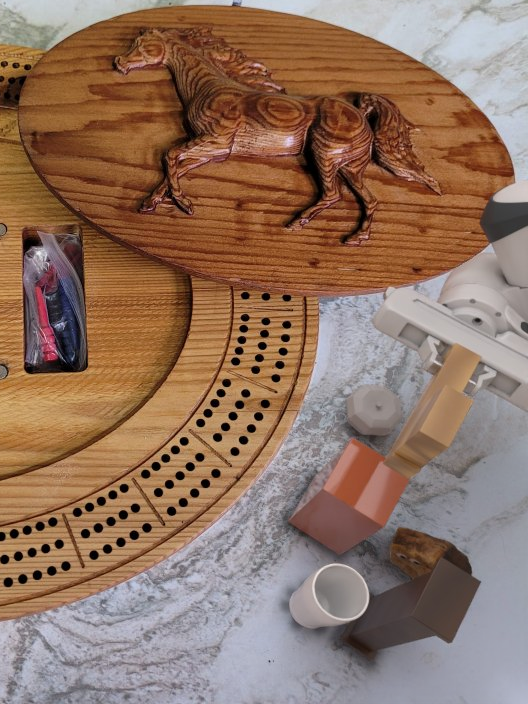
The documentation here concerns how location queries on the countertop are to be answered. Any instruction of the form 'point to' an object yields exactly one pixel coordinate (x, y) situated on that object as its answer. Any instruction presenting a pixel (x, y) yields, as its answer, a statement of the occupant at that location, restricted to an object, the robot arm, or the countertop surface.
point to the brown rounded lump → (423, 552)
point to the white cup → (330, 597)
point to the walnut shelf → (414, 611)
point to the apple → (373, 410)
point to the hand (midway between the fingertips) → (451, 378)
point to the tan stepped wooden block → (435, 414)
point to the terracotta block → (349, 498)
